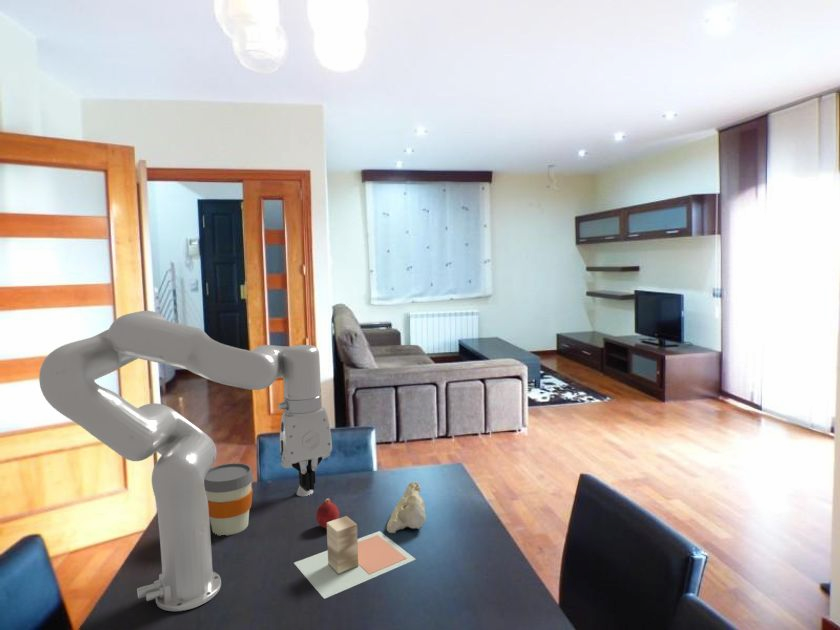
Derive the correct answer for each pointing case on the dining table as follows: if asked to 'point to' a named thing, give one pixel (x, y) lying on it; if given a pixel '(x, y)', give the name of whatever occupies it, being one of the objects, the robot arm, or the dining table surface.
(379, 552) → the mat
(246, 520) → the reusable coffee cup
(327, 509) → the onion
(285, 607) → the dining table surface
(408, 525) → the beige rock
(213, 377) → the robot arm
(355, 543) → the maple block
